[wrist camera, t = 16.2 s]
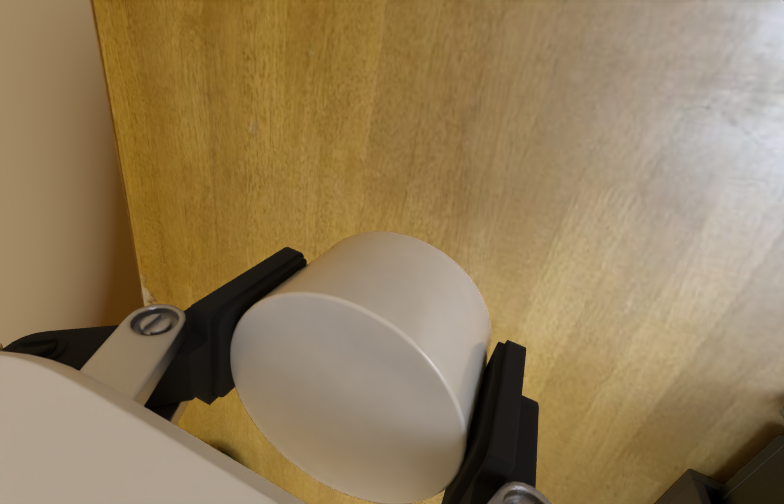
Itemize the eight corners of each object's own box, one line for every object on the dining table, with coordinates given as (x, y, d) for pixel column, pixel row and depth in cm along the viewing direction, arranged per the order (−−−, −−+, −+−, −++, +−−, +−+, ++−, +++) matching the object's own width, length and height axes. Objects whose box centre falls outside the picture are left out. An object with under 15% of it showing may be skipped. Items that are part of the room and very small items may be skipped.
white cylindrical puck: (390, 187, 11) (314, 236, 7) (538, 350, 11) (532, 470, 8) (280, 297, 14) (194, 366, 11) (396, 420, 14) (347, 525, 11)
